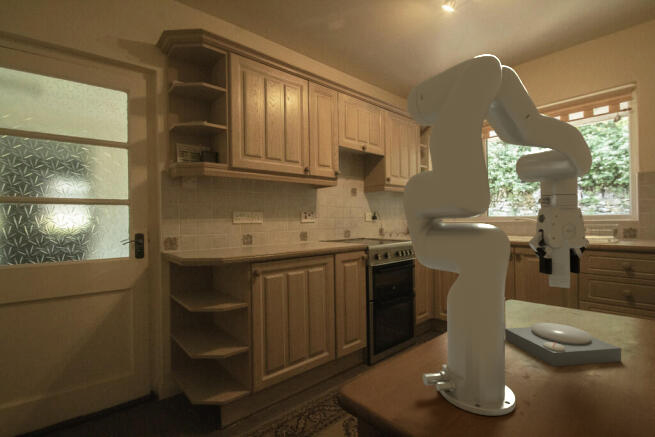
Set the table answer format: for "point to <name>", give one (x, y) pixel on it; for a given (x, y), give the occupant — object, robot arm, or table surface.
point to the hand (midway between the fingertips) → (559, 272)
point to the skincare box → (560, 266)
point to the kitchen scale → (562, 344)
